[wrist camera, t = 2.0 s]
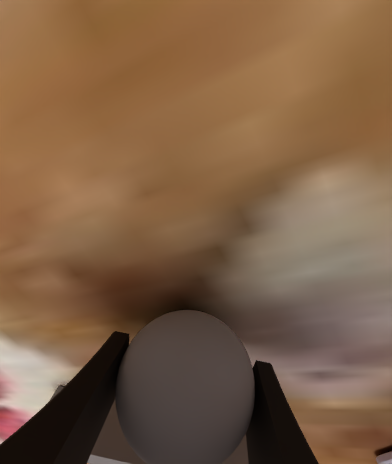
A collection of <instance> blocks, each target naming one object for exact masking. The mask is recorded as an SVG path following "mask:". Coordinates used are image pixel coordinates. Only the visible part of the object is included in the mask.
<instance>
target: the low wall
mask: <svg viewBox="0 0 392 464" xmlns="http://www.w3.org/2000/svg"><path fill="white" fill-rule="evenodd" d="M63 388H64V387H62V386H58V388H57V390H56V391H55V393H54V395H53V396H52V398H51V399H50V401H51V400H52V399H53V398H54V397H55V396H56V395H57V394H58V393H59V392H60V391H61V390H62V389H63ZM50 401H49V402H50ZM87 463H89V464H147V463H145V462H144V461H143V460H142V459H141V458H140V457H138V455H137V454H136V453H135V452H134V450H133V449H132V448H131V447H130V445H129V444H128V442H127V440H126V438H125V436H124V434H123V432H122V429H121V426H120V424H119V421H118V416H117V411H116V403H115V400H114V403H113V405H112V407H111V409H110V412H109V414H108V416H107V418H106V421H105V423H104V425H103V427H102V430H101V432H100V434H99V436H98V439H97V441H96V443H95V445H94V448H93V450H92V452H91V455H90V457H89V460H88V462H87ZM221 464H249V462H248V452H247V441H246V434H245V435H244V437H243V439H242V441H241V442H240V444H239V446H238V447H237V448H236V449H235V451H234V452H233V453H232V454H231V455H230V456H229V457H228V458H227V459H226V460H225V461H224V462H222V463H221Z"/></svg>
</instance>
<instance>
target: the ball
mask: <svg viewBox="0 0 392 464" xmlns="http://www.w3.org/2000/svg"><path fill="white" fill-rule="evenodd" d="M254 402H255V380H254V374H253V368H252V365H251V362H250V359H249V356H248V353H247V351H246V349H245V347H244V346H243V344H242V342H241V341H240V339H239V338H238V336H237V335H236V334H235V333H234V332H233V331H232V330H231V329H230V328H229V327H228V326H227V325H226V324H225V323H224V322H222V321H221V320H219V319H217V318H216V317H214V316H212V315H210V314H207V313H204V312H200V311H195V310H179V311H174V312H170V313H166V314H164V315H162V316H160V317H158V318H156V319H154V320H152V321H151V322H150V323H148V324H147V325H146V326H145V327H143V328H142V329H141V330H140V331H139V332H138V334H137V335H136V336H135V337H134V338H133V340H132V341H131V343H130V344H129V346H128V348H127V350H126V352H125V354H124V356H123V358H122V360H121V363H120V366H119V370H118V374H117V379H116V389H115V403H116V411H117V416H118V421H119V424H120V426H121V429H122V432H123V434H124V436H125V438H126V440H127V442H128V444H129V445H130V447H131V448H132V449H133V450H134V452H135V453H136V454H137V455H138V457H140V458H141V459H142V460H143V461H144V462H145V463H147V464H221V463H222V462H224V461H225V460H226V459H227V458H228V457H229V456H230V455H231V454H232V453H233V452H234V451H235V449H236V448H237V447H238V446H239V444H240V442H241V441H242V439H243V437H244V435H245V434H246V432H247V429H248V427H249V424H250V421H251V418H252V414H253V409H254Z"/></svg>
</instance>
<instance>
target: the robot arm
mask: <svg viewBox="0 0 392 464" xmlns="http://www.w3.org/2000/svg"><path fill="white" fill-rule="evenodd" d="M128 346H129V334H127V333H122V332H117V331H115V332H113V333H112V335H111V336H110V337H109V338H108V340H107V341H106V342H105V343H104V345H103V346H102V347H101V348H100V349H99V351H98V352H97V353H96V354H95V355H94V356H93V357H92V358H91V360H90V361H89V362H88V363H87V364H86V365H85V366H84V367H83V368H82V369H81V370H80V371H79V373H78V374H77V375H76V376H75V377H74V378H73V379H72V380H71V381H70V382H69V383H68V384H67V385H66V386H65V387H64V388H63V389H62V390H61V391H60V392H59V393H58V394H57V395H56V396H55V397H54V398H53V399H52V400H51V401H50V402H48V403H47V404H46V405H45V406H44V407H43V408H42V409H41V410H40V411H39V412H38V413H37V414H35V415H34V416H33V417H32V418H31V419H30V420H29V421H28V422H26V423H25V424H24V425H23V426H22V427H21V428H20V429H18V430H17V431H16V432H15V433H14V434H12V435H11V436H10V437H9V438H8V439H6V440H5V441H4V442H3V443H2V444H0V464H87V462H88V460H89V457H90V455H91V452H92V450H93V448H94V445H95V443H96V441H97V439H98V436H99V434H100V432H101V430H102V427H103V425H104V423H105V421H106V418H107V416H108V414H109V412H110V409H111V407H112V405H113V403H114V400H115V389H116V379H117V374H118V370H119V366H120V363H121V360H122V358H123V356H124V354H125V352H126V350H127V348H128ZM253 374H254V380H255V402H254V409H253V414H252V418H251V421H250V424H249V427H248V429H247V432H246V441H247V452H248V462H249V464H319V463H318V462H317V460H316V458H315V456H314V454H313V452H312V450H311V448H310V447H309V445H308V443H307V441H306V439H305V437H304V435H303V433H302V431H301V429H300V427H299V425H298V423H297V421H296V419H295V417H294V415H293V413H292V411H291V408H290V406H289V404H288V402H287V400H286V398H285V395H284V393H283V391H282V389H281V386H280V384H279V382H278V379H277V377H276V374H275V372H274V370H273V367H272V365H271V364H270V363H266V362H262V361H257V360H256V362H255V364H254V366H253ZM376 461H377V464H392V451H391V452H388V453H385V454H381V455H379V456H377V457H376Z"/></svg>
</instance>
